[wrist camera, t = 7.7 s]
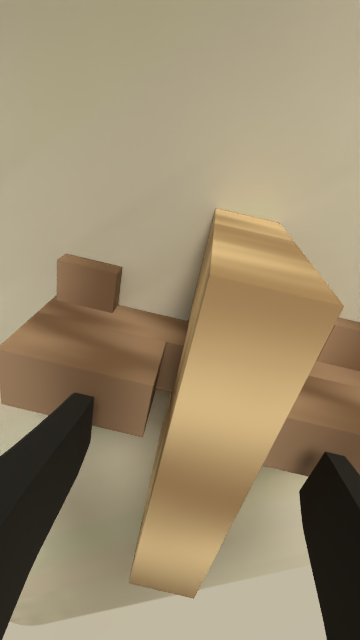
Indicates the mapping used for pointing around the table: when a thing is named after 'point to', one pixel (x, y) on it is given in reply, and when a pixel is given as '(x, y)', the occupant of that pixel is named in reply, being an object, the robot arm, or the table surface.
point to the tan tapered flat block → (229, 393)
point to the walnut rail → (161, 367)
